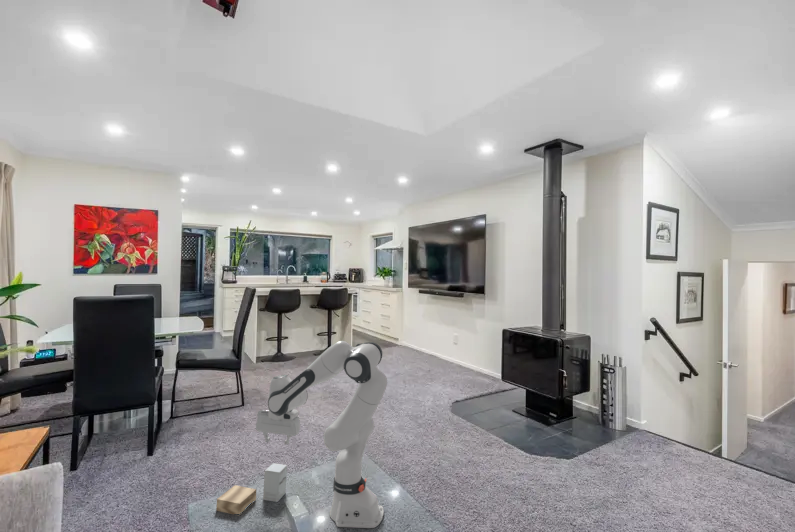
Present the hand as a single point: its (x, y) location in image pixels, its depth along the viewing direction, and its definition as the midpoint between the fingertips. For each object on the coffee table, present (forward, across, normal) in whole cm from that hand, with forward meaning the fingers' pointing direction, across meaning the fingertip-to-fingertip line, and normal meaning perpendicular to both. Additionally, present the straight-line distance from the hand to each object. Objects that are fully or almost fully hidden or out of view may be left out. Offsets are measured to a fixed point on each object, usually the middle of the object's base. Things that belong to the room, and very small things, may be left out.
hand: (277, 443), depth 165 cm
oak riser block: (+24, -12, -10) cm, 28 cm away
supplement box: (+24, 0, 0) cm, 24 cm away
